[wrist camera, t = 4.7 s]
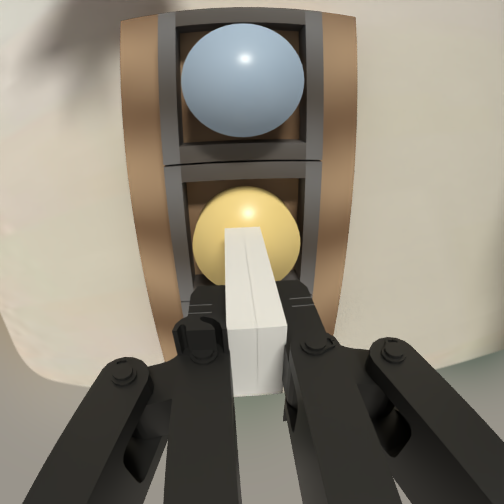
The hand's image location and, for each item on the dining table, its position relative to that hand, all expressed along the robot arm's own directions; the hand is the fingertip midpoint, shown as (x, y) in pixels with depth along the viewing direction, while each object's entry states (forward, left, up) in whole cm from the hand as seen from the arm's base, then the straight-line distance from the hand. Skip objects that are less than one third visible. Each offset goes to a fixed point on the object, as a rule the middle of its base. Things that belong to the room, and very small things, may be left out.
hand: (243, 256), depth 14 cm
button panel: (0, 0, -6) cm, 6 cm away
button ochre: (0, 0, -2) cm, 2 cm away
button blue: (-8, 0, -2) cm, 8 cm away
